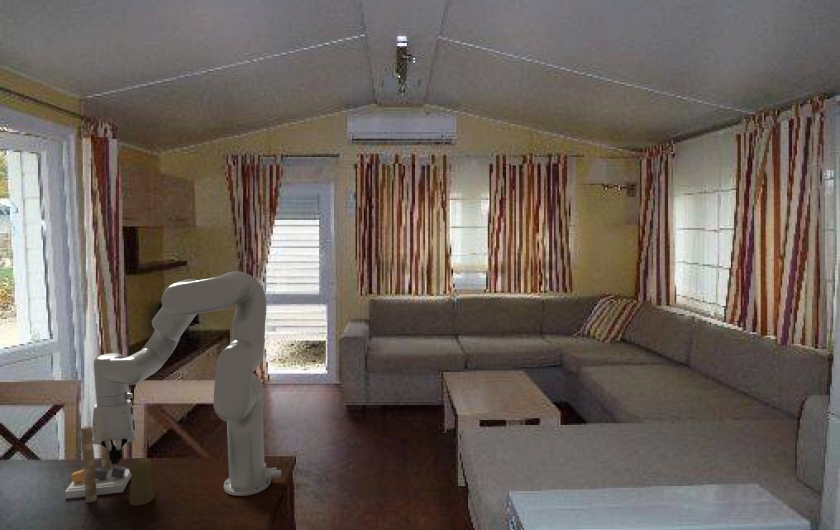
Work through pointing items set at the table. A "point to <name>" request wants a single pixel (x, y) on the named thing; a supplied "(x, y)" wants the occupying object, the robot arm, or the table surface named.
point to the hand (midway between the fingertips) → (116, 462)
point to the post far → (106, 459)
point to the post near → (88, 464)
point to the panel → (100, 486)
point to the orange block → (78, 476)
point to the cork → (140, 482)
